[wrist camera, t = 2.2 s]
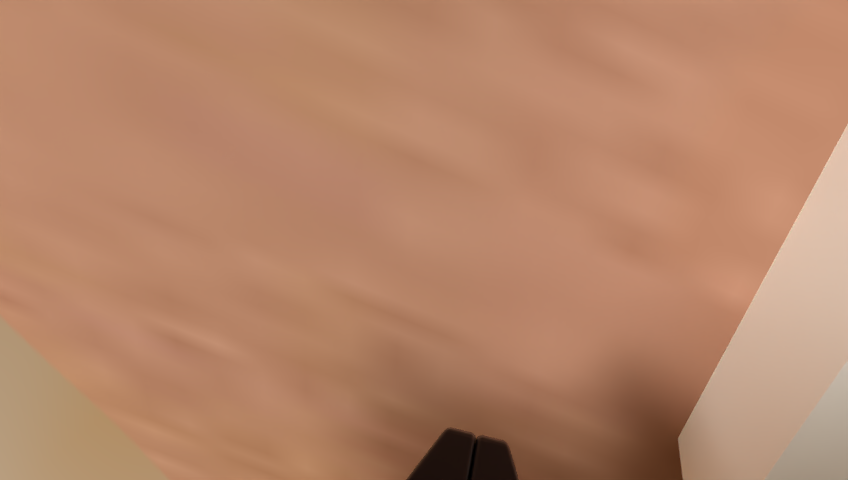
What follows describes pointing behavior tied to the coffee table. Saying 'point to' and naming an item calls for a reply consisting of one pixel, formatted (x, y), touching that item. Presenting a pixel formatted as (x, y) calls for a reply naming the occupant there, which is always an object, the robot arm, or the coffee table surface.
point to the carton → (785, 359)
